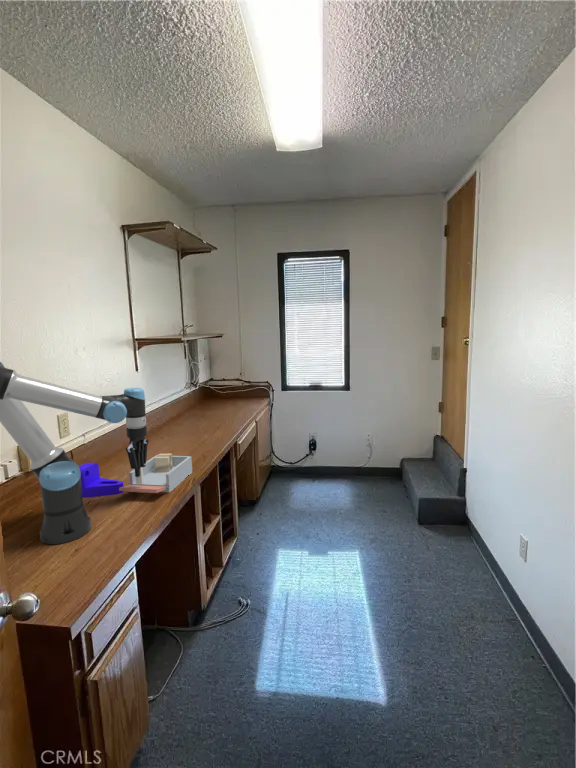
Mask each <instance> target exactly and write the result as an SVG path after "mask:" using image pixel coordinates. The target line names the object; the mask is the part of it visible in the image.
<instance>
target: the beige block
mask: <svg viewBox="0 0 576 768" xmlns="http://www.w3.org/2000/svg"><path fill="white" fill-rule="evenodd" d="M157 455H158V456H156V455H155V456H156V457H155V466H156V473H161V472H169V471H171V469H172V468H173V463H172V456H173V453H159V454H157Z"/></svg>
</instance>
